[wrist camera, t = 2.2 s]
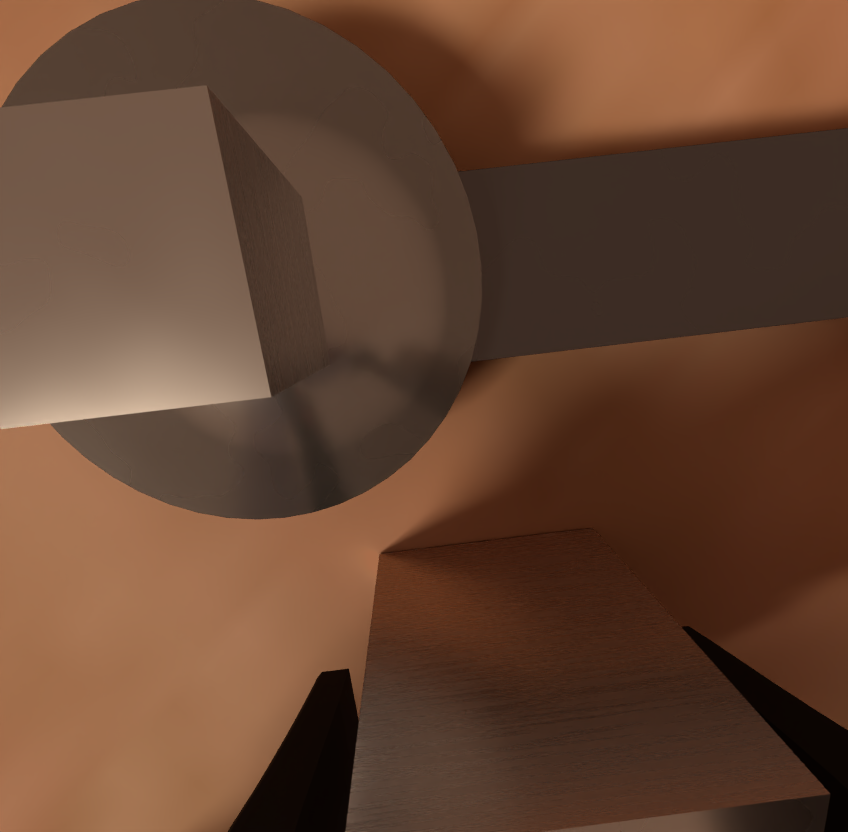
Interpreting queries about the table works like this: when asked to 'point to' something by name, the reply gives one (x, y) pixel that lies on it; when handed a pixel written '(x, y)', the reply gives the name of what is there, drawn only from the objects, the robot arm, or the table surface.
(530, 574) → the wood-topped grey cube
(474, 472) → the table surface
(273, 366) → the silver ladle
